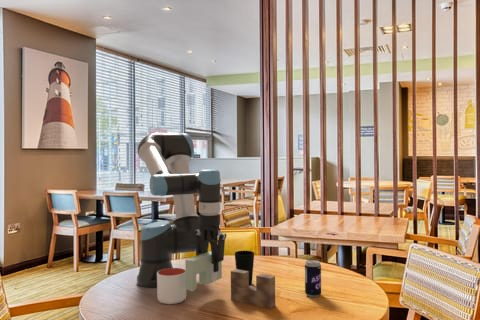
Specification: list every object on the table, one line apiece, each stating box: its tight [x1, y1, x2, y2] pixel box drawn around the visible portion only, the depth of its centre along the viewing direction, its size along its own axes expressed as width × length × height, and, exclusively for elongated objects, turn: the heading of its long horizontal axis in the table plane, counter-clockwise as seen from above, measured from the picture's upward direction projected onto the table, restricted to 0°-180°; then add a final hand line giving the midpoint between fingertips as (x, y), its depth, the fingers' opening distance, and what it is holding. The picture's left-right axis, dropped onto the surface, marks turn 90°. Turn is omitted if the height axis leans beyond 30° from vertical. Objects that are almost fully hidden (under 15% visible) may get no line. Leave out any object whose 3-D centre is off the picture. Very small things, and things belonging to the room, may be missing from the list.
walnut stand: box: [230, 268, 276, 310], centre depth 142 cm, size 16×3×10 cm, turn 55°
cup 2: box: [234, 250, 255, 286], centre depth 164 cm, size 8×8×12 cm
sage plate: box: [184, 250, 223, 292], centre depth 146 cm, size 16×3×10 cm, turn 145°
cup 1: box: [156, 267, 187, 305], centre depth 146 cm, size 10×10×10 cm
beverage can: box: [304, 259, 322, 298], centre depth 149 cm, size 6×6×12 cm
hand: (209, 279), depth 148 cm, fingers closed on sage plate, 3 cm apart
